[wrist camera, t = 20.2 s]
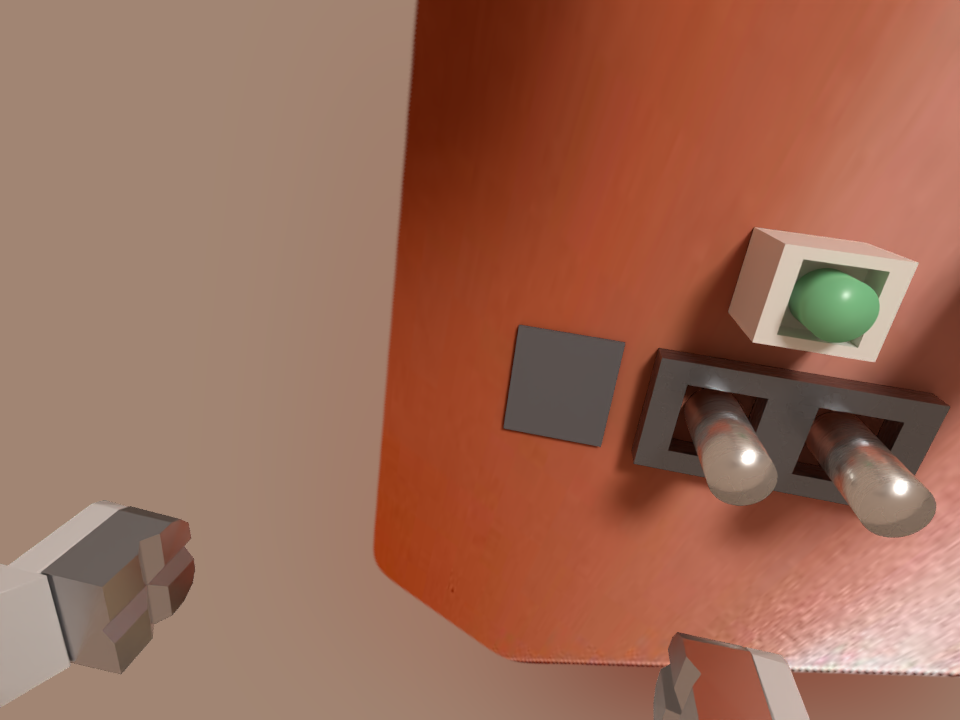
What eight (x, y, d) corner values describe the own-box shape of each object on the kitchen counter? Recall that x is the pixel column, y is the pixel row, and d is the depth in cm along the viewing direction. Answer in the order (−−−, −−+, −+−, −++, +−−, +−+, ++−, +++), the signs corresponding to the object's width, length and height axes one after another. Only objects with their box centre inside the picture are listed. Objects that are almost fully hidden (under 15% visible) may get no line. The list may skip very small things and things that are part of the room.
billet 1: (691, 383, 41) (717, 444, 33) (746, 392, 41) (786, 457, 32) (677, 428, 43) (699, 498, 35) (730, 438, 42) (765, 511, 34)
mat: (519, 324, 42) (518, 326, 41) (624, 342, 41) (625, 344, 40) (504, 426, 45) (503, 428, 45) (600, 444, 44) (600, 446, 44)
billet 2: (815, 406, 40) (874, 476, 32) (873, 416, 40) (948, 489, 32) (797, 452, 42) (848, 529, 34) (852, 462, 41) (918, 543, 33)
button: (800, 263, 32) (820, 275, 30) (864, 273, 32) (890, 285, 29) (780, 320, 34) (797, 337, 31) (841, 330, 33) (864, 347, 31)
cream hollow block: (754, 227, 36) (785, 243, 31) (865, 242, 36) (918, 262, 30) (727, 312, 39) (752, 342, 33) (831, 328, 38) (874, 362, 32)
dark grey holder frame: (658, 347, 41) (662, 357, 39) (933, 393, 38) (950, 406, 36) (631, 450, 44) (633, 463, 42) (881, 497, 42) (894, 514, 40)
